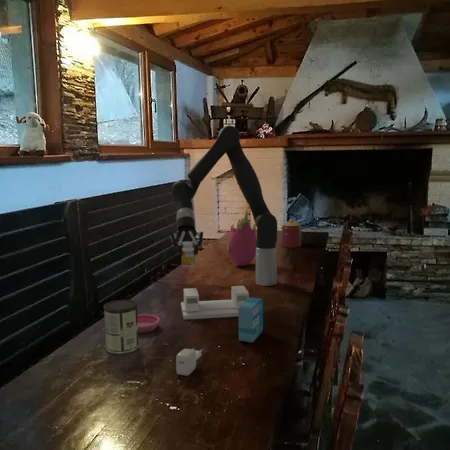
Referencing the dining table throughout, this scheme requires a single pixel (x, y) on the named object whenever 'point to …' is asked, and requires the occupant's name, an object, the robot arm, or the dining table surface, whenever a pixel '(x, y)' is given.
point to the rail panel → (213, 304)
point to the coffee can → (121, 326)
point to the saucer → (147, 323)
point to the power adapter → (187, 361)
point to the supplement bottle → (188, 254)
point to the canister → (291, 234)
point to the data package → (250, 319)
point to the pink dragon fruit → (242, 242)
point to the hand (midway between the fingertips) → (188, 254)
